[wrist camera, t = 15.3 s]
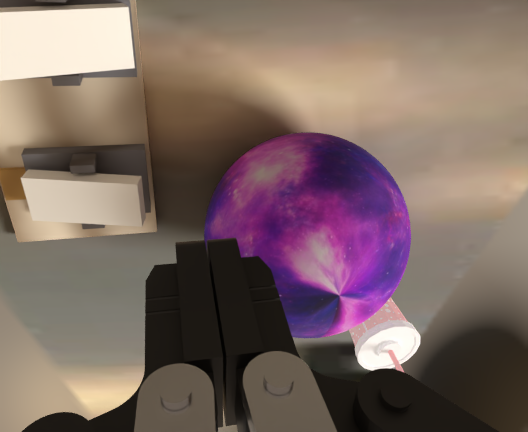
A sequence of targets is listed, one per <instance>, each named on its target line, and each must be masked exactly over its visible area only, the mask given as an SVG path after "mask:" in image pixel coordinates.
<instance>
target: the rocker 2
mask: <svg viewBox="0 0 528 432" xmlns="http://www.w3.org/2000/svg"><path fill="white" fill-rule="evenodd" d="M21 181H22V185H23V188H24V192H25V195H26V199H27V202H28V206H29V210H30V213H31V217H32V220H33V221H49V222H67V223H84V224H102V225H119V226H137V227H142V226H143V223H144V221H145V218H146V214H145V205H144V195H143V186H142V177H141V176H133V175H116V174H99V173H77V174H71V172H65V171H47V170H30V169H28V170H27V171H26V172H25V174H24V175H23V176H22V177H21Z"/></svg>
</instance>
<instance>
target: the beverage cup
mask: <svg viewBox="0 0 528 432" xmlns="http://www.w3.org/2000/svg"><path fill="white" fill-rule="evenodd" d="M349 331H350V334H351V336H352V339H353V342H354V344H355V353H356V356H357V360H358V362H359V364H360V365H361V366H362V367H364V368H365V369H369V370H375V369H381V368H389V369H390V368H393V367H396V369H397V370H399V371H402V372H404V371H403V369H402V367H401V365H400V364H401V363H403V362H405V361H407V360H408V359H409V358H410V357H411V356H412V355H413V354H414V353H415V352H416V351H417V349H418V347H419V345H420V335H419V333H418V332H417V331H416V329H415V328H414V326H413V325H412V324H411V323H409V322H407V320H406V319H405V317H404V316H403V315H402V313H401V312H400V310H399V309H398V307H397V306H396V304H395V303H394V301H393V300H392V299H391V297H390V298H389V299H388V301H387V302H386V303H385V304H384V305H383V306H382V307H381V308H380V309H379V310H378V311H377V312H376V313H375V314H374V315H373V316H371V317H370V318H368V319H367V320H366V321H364V322H363V323H361V324H359V325H357V326H355V327H353V328H351V329H349Z"/></svg>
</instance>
